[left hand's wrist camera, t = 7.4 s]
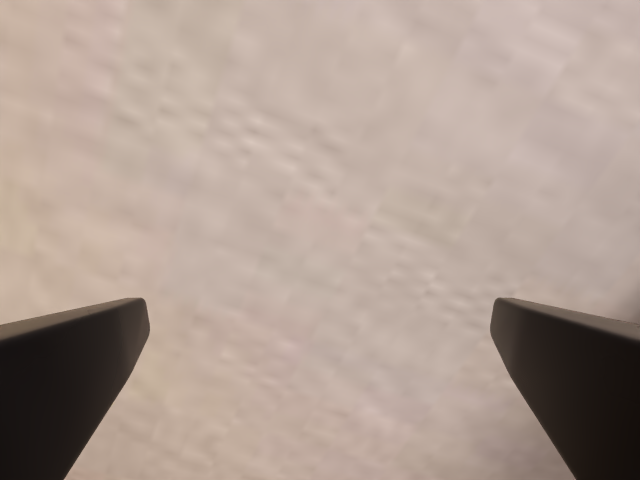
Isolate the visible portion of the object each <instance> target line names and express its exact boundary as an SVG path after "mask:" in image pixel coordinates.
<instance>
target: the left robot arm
mask: <svg viewBox="0 0 640 480" xmlns="http://www.w3.org/2000/svg"><path fill="white" fill-rule="evenodd" d="M149 332H150V325H149V318H148V312H147V306H146V302H145V300H144V299H143V298H125V299H120V300H116V301H111V302H106V303H101V304H97V305H92V306H87V307H83V308H78V309H73V310H68V311H64V312H59V313H54V314H50V315H45V316H40V317H35V318H31V319H26V320H21V321H17V322H12V323H7V324H2V325H0V480H64V478H65V477H66V475H67V474H68V472H69V471H70V469H71V468H72V466H73V464H74V463H75V461H76V460H77V458H78V457H79V455H80V453H81V452H82V450H83V449H84V447H85V446H86V444H87V443H88V441H89V439H90V438H91V436H92V435H93V433H94V432H95V430H96V428H97V427H98V425H99V424H100V422H101V421H102V419H103V418H104V416H105V414H106V413H107V411H108V410H109V408H110V407H111V405H112V403H113V402H114V400H115V399H116V397H117V396H118V394H119V393H120V391H121V389H122V388H123V386H124V385H125V383H126V381H127V380H128V378H129V376H130V374H131V373H132V371H133V369H134V366H135V364H136V362H137V360H138V358H139V356H140V354H141V352H142V349H143V347H144V345H145V343H146V341H147V339H148V336H149ZM490 332H491V336H492V339H493V341H494V343H495V345H496V347H497V349H498V352H499V354H500V356H501V358H502V360H503V362H504V364H505V366H506V369H507V371H508V373H509V374H510V376H511V378H512V380H513V381H514V383H515V385H516V386H517V388H518V389H519V391H520V393H521V394H522V396H523V397H524V399H525V400H526V402H527V403H528V405H529V407H530V408H531V410H532V411H533V413H534V414H535V416H536V418H537V419H538V421H539V422H540V424H541V425H542V427H543V428H544V430H545V432H546V433H547V435H548V436H549V438H550V439H551V441H552V443H553V444H554V446H555V447H556V449H557V450H558V452H559V453H560V455H561V457H562V458H563V460H564V461H565V463H566V464H567V466H568V468H569V469H570V471H571V472H572V474H573V475H574V477H575V478H576V480H640V325H638V324H633V323H628V322H624V321H619V320H614V319H609V318H605V317H600V316H595V315H591V314H586V313H581V312H576V311H572V310H567V309H562V308H557V307H553V306H548V305H543V304H539V303H534V302H529V301H524V300H520V299H515V298H497V299H496V300H495V302H494V306H493V312H492V318H491V325H490Z"/></svg>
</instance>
